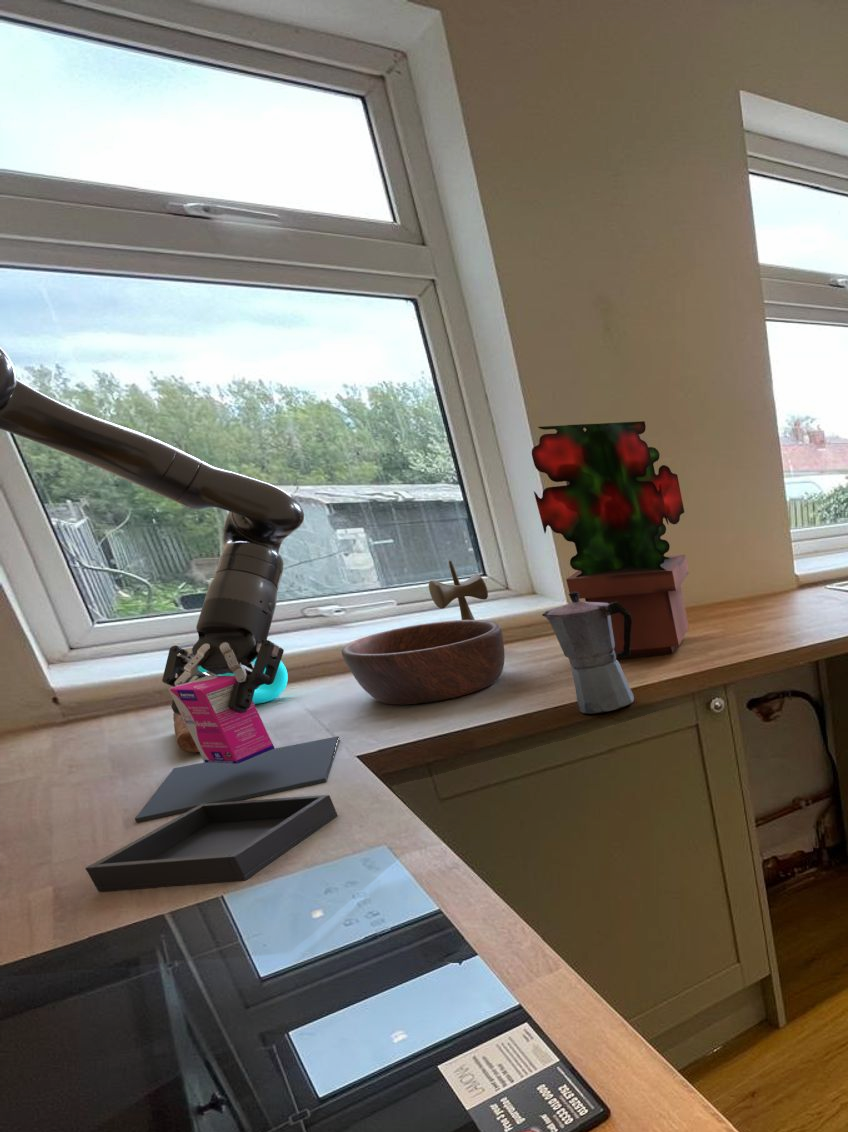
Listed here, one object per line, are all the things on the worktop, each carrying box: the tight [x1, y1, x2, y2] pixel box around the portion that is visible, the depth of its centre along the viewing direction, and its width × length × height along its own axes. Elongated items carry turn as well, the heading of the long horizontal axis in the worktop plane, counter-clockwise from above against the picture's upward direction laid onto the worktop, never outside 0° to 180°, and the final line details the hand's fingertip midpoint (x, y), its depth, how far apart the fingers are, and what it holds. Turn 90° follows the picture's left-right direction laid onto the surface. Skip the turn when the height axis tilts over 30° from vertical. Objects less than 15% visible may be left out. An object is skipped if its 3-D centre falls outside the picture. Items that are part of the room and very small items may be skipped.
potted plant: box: [531, 420, 690, 660], centre depth 165 cm, size 22×22×45 cm
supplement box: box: [168, 675, 275, 764], centre depth 115 cm, size 6×6×12 cm
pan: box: [84, 794, 339, 893], centre depth 97 cm, size 16×16×3 cm
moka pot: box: [541, 592, 635, 715], centre depth 137 cm, size 10×15×20 cm, turn 88°
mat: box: [134, 736, 340, 823], centre depth 118 cm, size 20×20×1 cm
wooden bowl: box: [341, 619, 506, 706], centre depth 152 cm, size 25×25×10 cm
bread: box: [172, 711, 200, 753], centre depth 133 cm, size 6×19×6 cm, turn 38°
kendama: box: [428, 560, 489, 620], centre depth 173 cm, size 6×10×20 cm, turn 142°
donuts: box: [195, 658, 289, 705], centre depth 150 cm, size 10×10×10 cm
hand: (209, 712), depth 113 cm, fingers closed on supplement box, 6 cm apart
